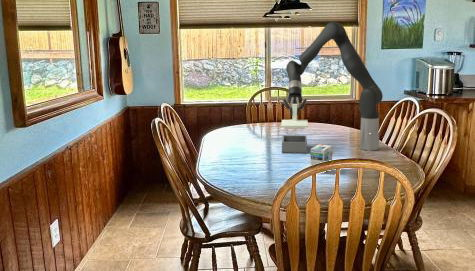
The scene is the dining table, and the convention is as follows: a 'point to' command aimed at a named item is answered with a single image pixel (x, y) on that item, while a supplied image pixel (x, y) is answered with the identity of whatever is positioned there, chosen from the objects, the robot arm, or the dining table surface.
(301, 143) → the tub
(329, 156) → the light bulb box
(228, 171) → the dining table surface
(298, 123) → the lid
